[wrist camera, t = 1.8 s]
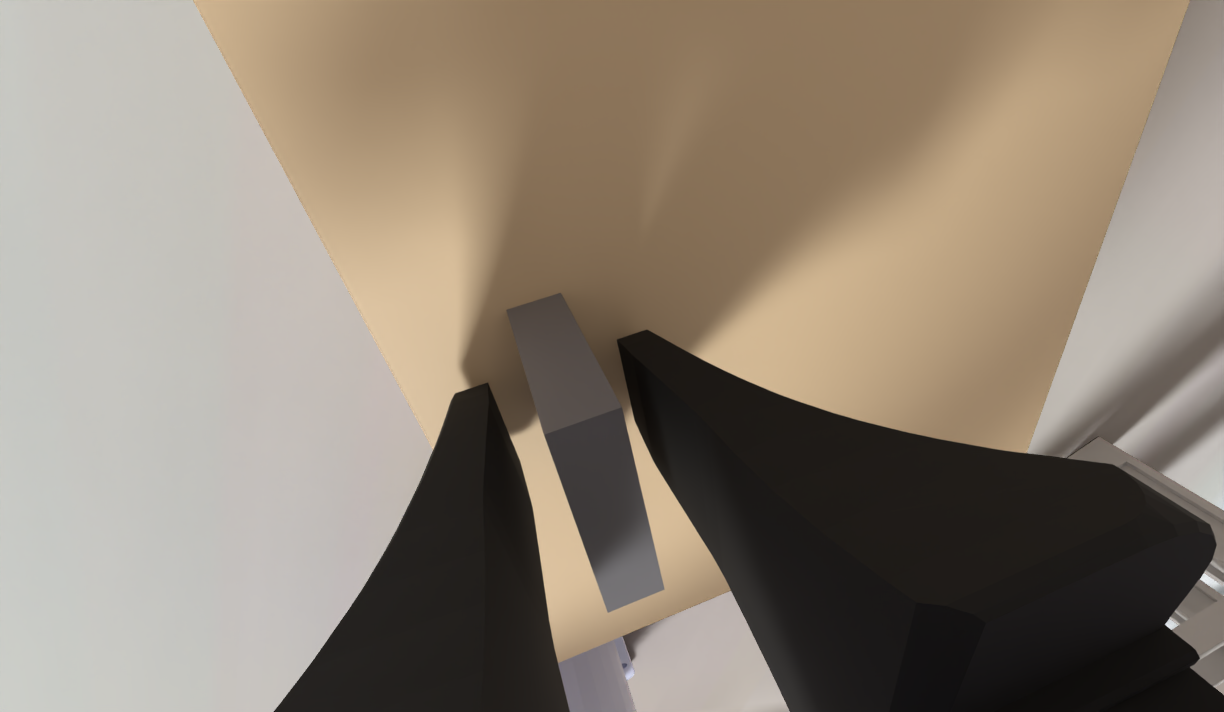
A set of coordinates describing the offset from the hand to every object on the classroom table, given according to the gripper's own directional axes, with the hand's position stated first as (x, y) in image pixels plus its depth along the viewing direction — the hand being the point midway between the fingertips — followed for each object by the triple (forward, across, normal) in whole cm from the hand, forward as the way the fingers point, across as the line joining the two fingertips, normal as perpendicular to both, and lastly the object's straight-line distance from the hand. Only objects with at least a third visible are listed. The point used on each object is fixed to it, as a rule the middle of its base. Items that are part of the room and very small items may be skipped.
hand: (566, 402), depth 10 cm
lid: (+1, -6, 0) cm, 6 cm away
